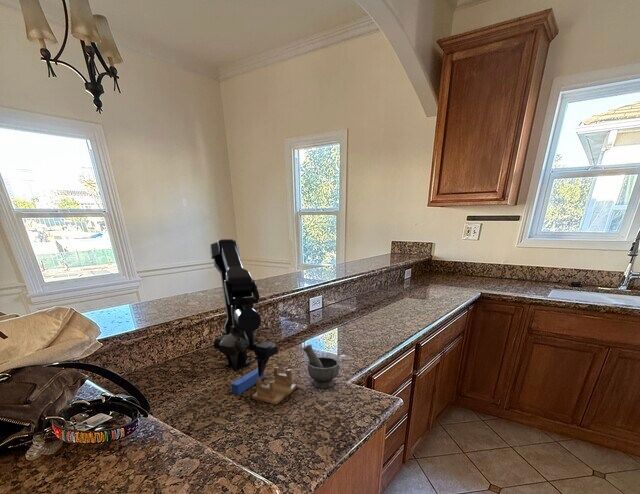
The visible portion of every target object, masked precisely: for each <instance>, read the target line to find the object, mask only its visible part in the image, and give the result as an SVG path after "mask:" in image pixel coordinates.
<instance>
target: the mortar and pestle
mask: <svg viewBox="0 0 640 494" xmlns="http://www.w3.org/2000/svg"><path fill="white" fill-rule="evenodd" d="M302 350H303V352H304V353H305V354H306V356H307V359H308V360H307V373H308V374H309V377H310V378H311V379H312V380H313V385H314V386H315V387H316V388H322V389H325V388H330V387H332V386H334V379H336V378H337V376H338V375H339V372H340V361H339V360H338V359H336V358H334V357H328V356H318V355H317V354H316V353H315V351H314V349H313V345H312V344H307V345H305V346H304V347H303V348H302Z"/></svg>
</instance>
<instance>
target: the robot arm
mask: <svg viewBox="0 0 640 494" xmlns="http://www.w3.org/2000/svg"><path fill="white" fill-rule="evenodd" d="M240 254H241V253H240V247H239V243H237V242H236V239H233V238H228V239H227V238H222V239H221V238H220V239H217V241H216V242H213V243H210V246H209V256H210V259H211V260H212V261H213V266H214V267H215V269H216V270H217V271H218V272H219V274H220V280H221V288H222V294H223V298H224V300H223V301H224V307H225V313H226V321H225V323H224V326H223V331H222V335H221V336H218V337H216V338H214V340H213V349H215V350H217V352H218V353H221V354H223V355H224V356H225V357H226V359H227V362H226V363H224V365H225V366H226V367H231V369H232V370H233V371H234V372H236V371H237V370H238V369H242V368H245V367H246V366H248V365H249V364H251V363H252V360H249V359H248V351H253V352H254V355H255V356H254V359H255V360H256V362H257V368H258V374H259V376H260V377H261V376H262V374H263V372H264V373H265V369H266V366H267V364H268V362H269V360H270V358H271V357H273V356H274V355H276V354H278V353H279V348H278V347H279V346H278V345H277V344H276V343H275V342H270V341H263V342H261V343H260V344H258V343H257V342H258V341H259V340H258V337H256V335H255V331H257V330H258V329H259V328H260V326H261V324H262V323H261V322H262V319H261V316H260V314H259V313H258V311H256V309H255V308H254V304H259V303H260V302H259V300H260V293H259V289H258V285H257V283H256V281H255V279H254V278H253V277H252V275H251V273H250V271H249V270H248V269H245V268H243V264H242V262H241V259H240V256H241V255H240ZM247 350H248V351H247Z"/></svg>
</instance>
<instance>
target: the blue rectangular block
mask: <svg viewBox="0 0 640 494" xmlns="http://www.w3.org/2000/svg"><path fill="white" fill-rule="evenodd" d="M257 378H261V379H262V380H263V379H265V371H264V372H263V374H262V376H261V377H260V376H259V374H258V367H256V368H255V369H253V370H251V371H250V372H248V373H246V374H245V375H243V376H241V377H239V378H238V379H236V380H234V381H233V382H231V383H230V388H231V393H232V394H234V395H237V396H238V395H240V394H242V393H244V392H245V391H246V390H248V389H249V388H251V387H253V386H254V385H255V384H256V379H257Z"/></svg>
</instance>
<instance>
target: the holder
mask: <svg viewBox="0 0 640 494" xmlns="http://www.w3.org/2000/svg"><path fill="white" fill-rule="evenodd" d="M285 371H286V372H285V373H286V374H285V373H280V367H279V366H274V367H273V373H274V374H273V375H274V376H273V377H274V379H273V380H270V381H269V382H268V384H266V385H265V384H263V379H261V378H257V379H256V383H255V384H256V392H255V393H253V394H252V395H251V399H252V400H256V401H260V402H265V403H269V404H272V405H278V404H279V403H280V402H282V401H283V400H284V399H285V398H286V397H288V396H289V395H290V394H291V393H293V392H294V391H295V390H296V389H298V385H297V384H293V383H292V369H291V368H290V369H289V368H288V369H286V370H285Z"/></svg>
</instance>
